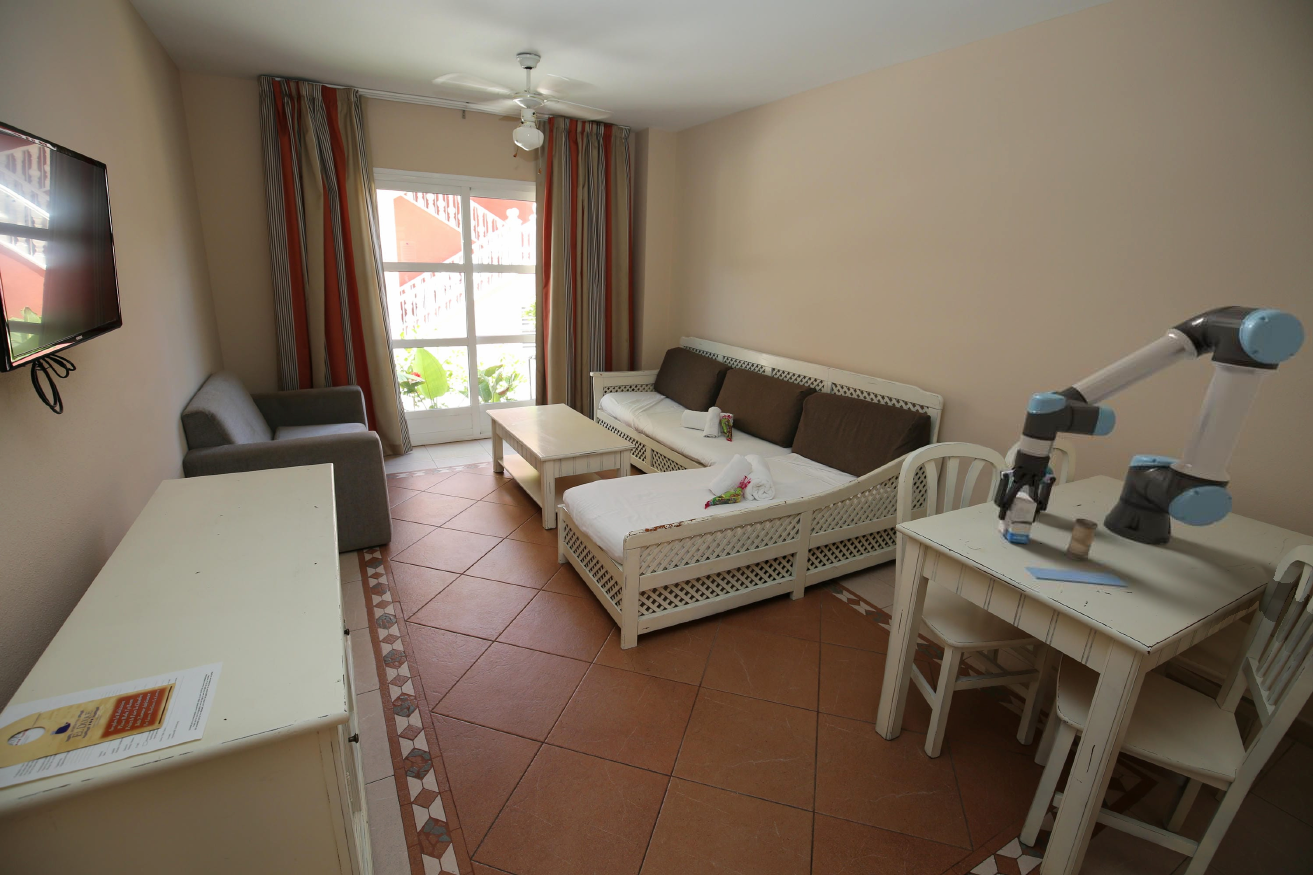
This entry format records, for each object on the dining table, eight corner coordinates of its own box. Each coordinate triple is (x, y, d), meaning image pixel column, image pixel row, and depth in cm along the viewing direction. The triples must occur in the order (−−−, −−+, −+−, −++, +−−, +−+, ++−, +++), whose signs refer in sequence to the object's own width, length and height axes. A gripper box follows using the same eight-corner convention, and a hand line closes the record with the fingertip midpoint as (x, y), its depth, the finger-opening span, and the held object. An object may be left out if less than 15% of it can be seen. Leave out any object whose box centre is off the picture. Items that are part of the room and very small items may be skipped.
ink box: (1027, 544, 156) (1038, 504, 152) (1007, 541, 157) (1018, 501, 153) (1015, 530, 164) (1025, 491, 160) (996, 527, 165) (1006, 489, 161)
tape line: (1113, 575, 143) (1114, 574, 142) (1127, 586, 138) (1128, 585, 138) (1025, 567, 144) (1025, 566, 144) (1036, 578, 139) (1036, 577, 139)
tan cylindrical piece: (1079, 553, 153) (1090, 519, 150) (1090, 562, 149) (1102, 527, 146) (1061, 552, 153) (1072, 517, 150) (1072, 560, 149) (1083, 525, 146)
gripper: (1062, 450, 156) (1040, 528, 163) (991, 444, 157) (972, 522, 164) (1079, 459, 149) (1055, 541, 156) (1005, 453, 150) (984, 534, 157)
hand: (1013, 531), depth 160 cm, fingers closed on ink box, 5 cm apart
